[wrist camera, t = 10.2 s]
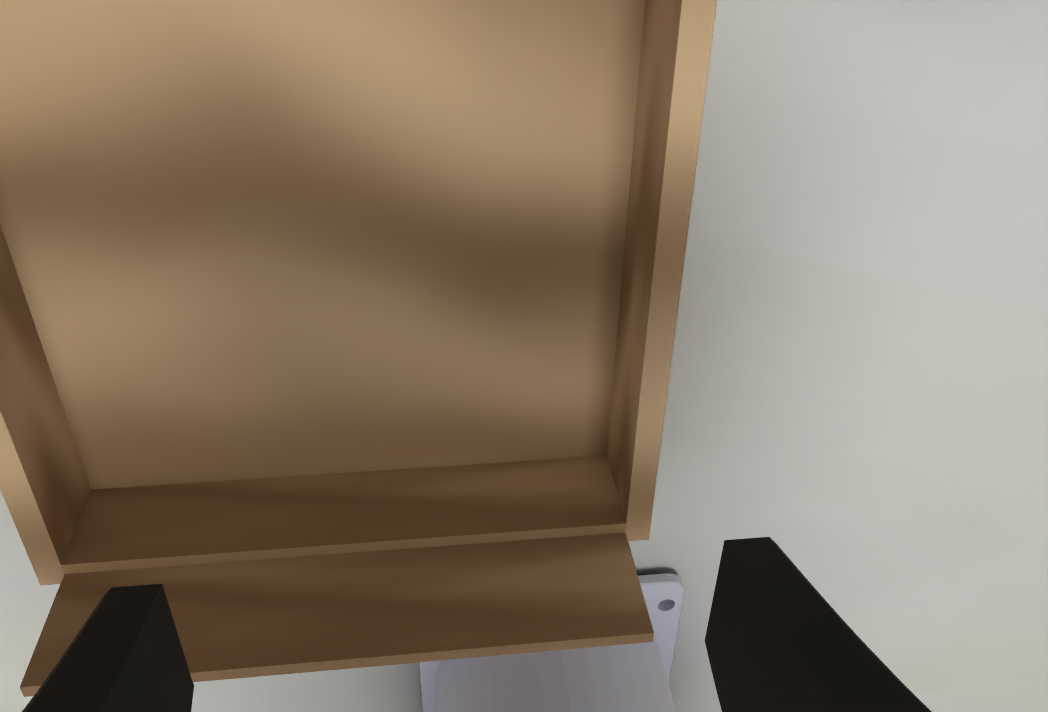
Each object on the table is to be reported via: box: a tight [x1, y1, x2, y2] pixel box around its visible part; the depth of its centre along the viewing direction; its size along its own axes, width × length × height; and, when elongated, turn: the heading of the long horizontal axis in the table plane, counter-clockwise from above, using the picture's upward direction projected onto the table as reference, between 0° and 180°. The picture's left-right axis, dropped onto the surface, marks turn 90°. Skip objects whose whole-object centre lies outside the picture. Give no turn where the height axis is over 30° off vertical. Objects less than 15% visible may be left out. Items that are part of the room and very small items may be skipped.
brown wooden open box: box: [0, 0, 717, 697], centre depth 17 cm, size 15×14×6 cm
